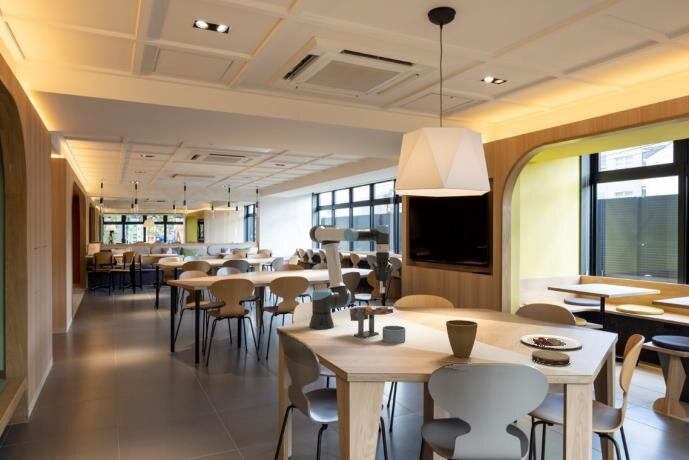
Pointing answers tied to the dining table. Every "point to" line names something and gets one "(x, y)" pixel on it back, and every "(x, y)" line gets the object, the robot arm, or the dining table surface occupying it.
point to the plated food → (550, 341)
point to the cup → (394, 334)
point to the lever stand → (361, 331)
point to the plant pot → (461, 336)
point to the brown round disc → (550, 357)
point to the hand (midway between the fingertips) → (382, 292)
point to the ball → (368, 308)
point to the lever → (368, 312)
